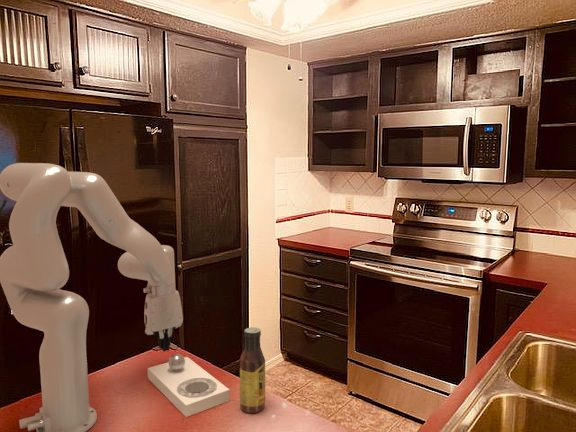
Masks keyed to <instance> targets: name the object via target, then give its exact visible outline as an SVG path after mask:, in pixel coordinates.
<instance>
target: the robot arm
mask: <svg viewBox="0 0 576 432" xmlns="http://www.w3.org/2000/svg"><path fill="white" fill-rule="evenodd" d="M0 191H1V192H2V194H3V195H4V196H5V197H7V198H8V199H10V200H11V201H15V202H16V203H15V205H14V207H13V209H12V212H11V213H10V218H9V221H8V228H9V229H8V230H9V233H10V239H11V242H12V245H11V246H8V248H6V249H5V250H4V251H3V253H1V255H0V286H1V287H2V290H3V294H4V295H5V297H6V302H7V303H8V305H9V308H10V310H11V313H12V316H14V318H15V320H17V322H18V323H20V324H21V325H24V326H26V327H27V328H31V329H35V330H38V331H41V332H43V334H44V336H43V339H42V343H41V344H40V346H39V347H40V348H39V355H38V358H39V361H38V362H39V372H40V385H41V400H42V401H41V402H42V406H41V407H39V412H36V413H34V415H33V416H28V417H24V418H22V419H19V420H18V423H19V429H20V430H22V429H25V428H27V431H28V432H31V431H34V430H36V432H87V431H88V430H90V429H91V428H92V427H93V426H94V425H95V424H96V422H97V419H98V414H97V410H95V408H93V407H92V406H90V398H89V396H90V395H89V378H88V375H89V373H88V362H87V361H88V360H87V359H88V358H87V329H88V323H89V319H90V318H89V317H90V308H89V305H88V303H87V301H86V300H85V298H84V297H82V296H81V295H79V294H77V293H75V292H73V291H69V290H63V289H61V288H63V287H64V286H65V285H66V283H68V280H69V277H70V269H69V264H68V261H67V258H66V254H65V252H64V248H63V245H62V241H61V239H60V236H59V233H58V227H57V223H56V222H57V216H58V212H59V210H60V208H61V207H66V208H67V207H69V208H77V210H78V211H79V212H80V213H81V215H82V216H83V217H84V219H85V220H86V221H87V222H88V224H89V225H90V227H92V229H93V231H94V232H95V234H96V235H97V236H98V237H99V238H100V239H101V240H104V242H106V243H108V244H111V245H112V246H114V247H117V248H119V249H121V250H124V251H126V252H124V253H123V254H121V256H120V257H119V259H118V261H117V269H118V271H119V273H120V274H121V275H123V276H124V277H127V278H130V279H136V280H142V281H147V285H146V287H144V288H143V293H144V294H146V296H145V301H144V312H143V314H144V316H143V317H144V319H143V320H144V326H145V330H144V333H145V334H146V335H147V336H151V335H154V336H156V337H157V338H158V340H157V341H158V348H159V349H160V350H161V351H162V352H166V351H170V346H171V337H172V335H173V332H174V331H175V330H176V329H178V328H179V327H181V326H182V325H183V321H184V317H183V316H184V314H183V307H182V300H181V297H180V293H179V291H178V290H177V289H176V272H175V271H176V270H175V267H176V266H175V250H174V248H173V247H172V246H170V245H167V244H166V245H165V244H161V243H160V241H158V240H157V238H156V237H155V236H154V235H152V234H151V233H150V232H149V231H147V230H146V229H145V228H144V227H143V226H141V225H140V224H139V223H138V222H136V221H135V220H134V219H131V218H130V217H129V215H128V214H127V212H126V211H125V209H124V207H123V206H122V205H121V203H120V201H119V200H118V199H117V197H116V195H115V194H114V192H113V191H112V189H111V188H110V186H109V185H108V183H107V181H106V180H105V178H103V177H102V176H101V175H99V174H97V173H94V172H89V171H88V172H87V171H68V170H67V169H66V168H65V167H63V166H61V165H57V164H54V163H48V162H47V163H43V162H16V163H12V164H9V165H8V166H6V167H5V168H3V170H2V171H1V172H0Z"/></svg>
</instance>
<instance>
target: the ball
mask: <svg viewBox="0 0 576 432" xmlns="http://www.w3.org/2000/svg"><path fill="white" fill-rule="evenodd" d="M184 357H185V356H183V355H182V354H180V353H174V354H172V355H171V356H170V357H169V358H168V361H167V362H168V365H169V367H170V369H172V370H174V371H179V370H181V369H182V368H183V367H184V365H185V359H184Z"/></svg>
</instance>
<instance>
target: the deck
mask: <svg viewBox="0 0 576 432" xmlns="http://www.w3.org/2000/svg"><path fill="white" fill-rule="evenodd" d="M183 357H184V359H185V365H184V367H183V368H182V369H181V370H179V371H174V370H172V369H170V367H169V365H168V361H167V362H164V363H160V364H156V365H153V366H150V367H148V368H147V369H146V370H147V379H148V380H149V381H150V382H151V383H152V384H153V385H154V386H155V387H156V388H157V389H158V390H159V391H160V392H161V393H162V394H163V395H164V396H165V397H166V398H167V400H169V401H170V402H171V403H172V404H173V405H174V406H175V407H176V409H177V410H179V412H181V413H182V414H183V416H184V417H185V418H187V417H190V416H193V415H196V414H198V413H201V412H203V411H205V410H206V411H207V410H208V409H211V408H215V407H216V406H220V405H222V404H224V403H227V402H229V401H230V398H231V395H230V392H231V391H230V388H228V387H227V386H226V385H224V384H223V383H222V382H221V381H219V380H218V379H217V378H215V377H214V376H213V375H211V374H210V373H209V372H207V371H206V370H205V369H203V368H202V367H201V366H200V365H199V364H197V363H196V362H194V361H193V360H192V359H191V358H189V356H183Z"/></svg>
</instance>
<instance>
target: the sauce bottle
mask: <svg viewBox="0 0 576 432" xmlns="http://www.w3.org/2000/svg"><path fill="white" fill-rule="evenodd" d="M243 332H244V333H243V335H244V349H243V351H242V352H241V354H240V359H239V361H240V363H239V366H240V367H239V402H240V409H241V410H242V411H243V412H245V413H250V414H252V413H253V414H254V413H258V412H260V411H262V410H264V408H265V405H266V404H265V402H266V359H265V356H264V354H263V351H262V347H261V336H262V334H261V329H260V328H258V327H247V328H245V329H244V331H243Z"/></svg>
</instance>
